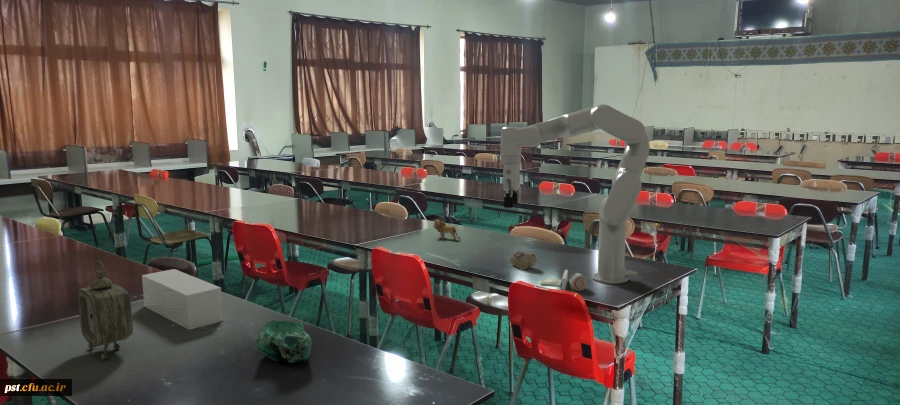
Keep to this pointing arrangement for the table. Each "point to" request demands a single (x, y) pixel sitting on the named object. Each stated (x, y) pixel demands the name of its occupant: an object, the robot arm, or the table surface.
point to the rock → (523, 260)
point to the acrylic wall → (564, 279)
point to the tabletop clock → (104, 312)
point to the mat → (551, 282)
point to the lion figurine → (445, 229)
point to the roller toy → (578, 282)
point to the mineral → (284, 341)
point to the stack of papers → (182, 298)
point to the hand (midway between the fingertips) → (510, 205)
